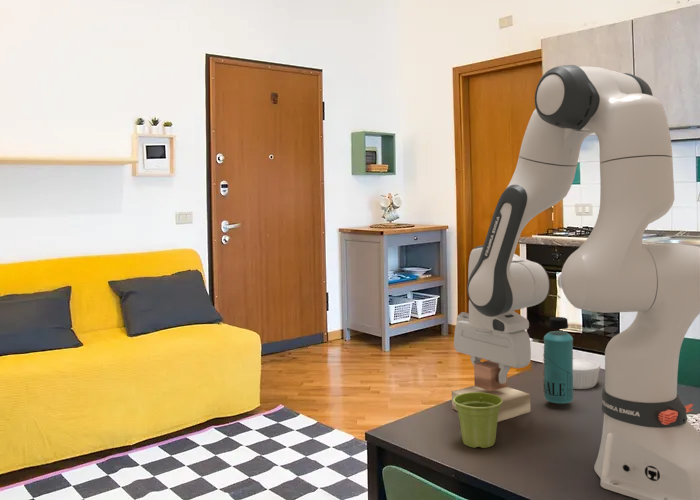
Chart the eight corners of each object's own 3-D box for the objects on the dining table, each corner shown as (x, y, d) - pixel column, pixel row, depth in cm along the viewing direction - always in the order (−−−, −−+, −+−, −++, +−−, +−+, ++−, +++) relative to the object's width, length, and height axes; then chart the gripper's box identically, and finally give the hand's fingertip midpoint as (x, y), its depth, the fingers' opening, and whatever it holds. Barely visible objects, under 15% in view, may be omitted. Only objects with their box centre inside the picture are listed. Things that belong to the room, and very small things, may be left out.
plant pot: (443, 441, 127) (442, 398, 126) (477, 430, 132) (476, 388, 131) (480, 456, 119) (479, 411, 118) (513, 443, 125) (513, 399, 124)
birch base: (530, 411, 142) (530, 394, 141) (490, 424, 135) (490, 405, 135) (490, 398, 152) (490, 381, 151) (451, 408, 145) (451, 391, 145)
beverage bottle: (570, 400, 148) (569, 314, 146) (577, 410, 141) (577, 320, 140) (540, 400, 149) (540, 314, 147) (546, 410, 142) (546, 320, 140)
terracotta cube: (490, 391, 139) (490, 368, 139) (474, 385, 144) (474, 363, 143) (507, 386, 142) (507, 364, 142) (490, 381, 146) (490, 359, 146)
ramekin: (543, 380, 164) (543, 360, 164) (582, 375, 167) (582, 355, 167) (568, 393, 154) (568, 371, 153) (609, 388, 156) (609, 366, 156)
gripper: (446, 312, 148) (448, 371, 150) (513, 326, 131) (514, 393, 133) (467, 309, 152) (468, 366, 153) (535, 322, 135) (535, 387, 136)
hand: (490, 379), depth 143 cm, fingers closed on terracotta cube, 5 cm apart
